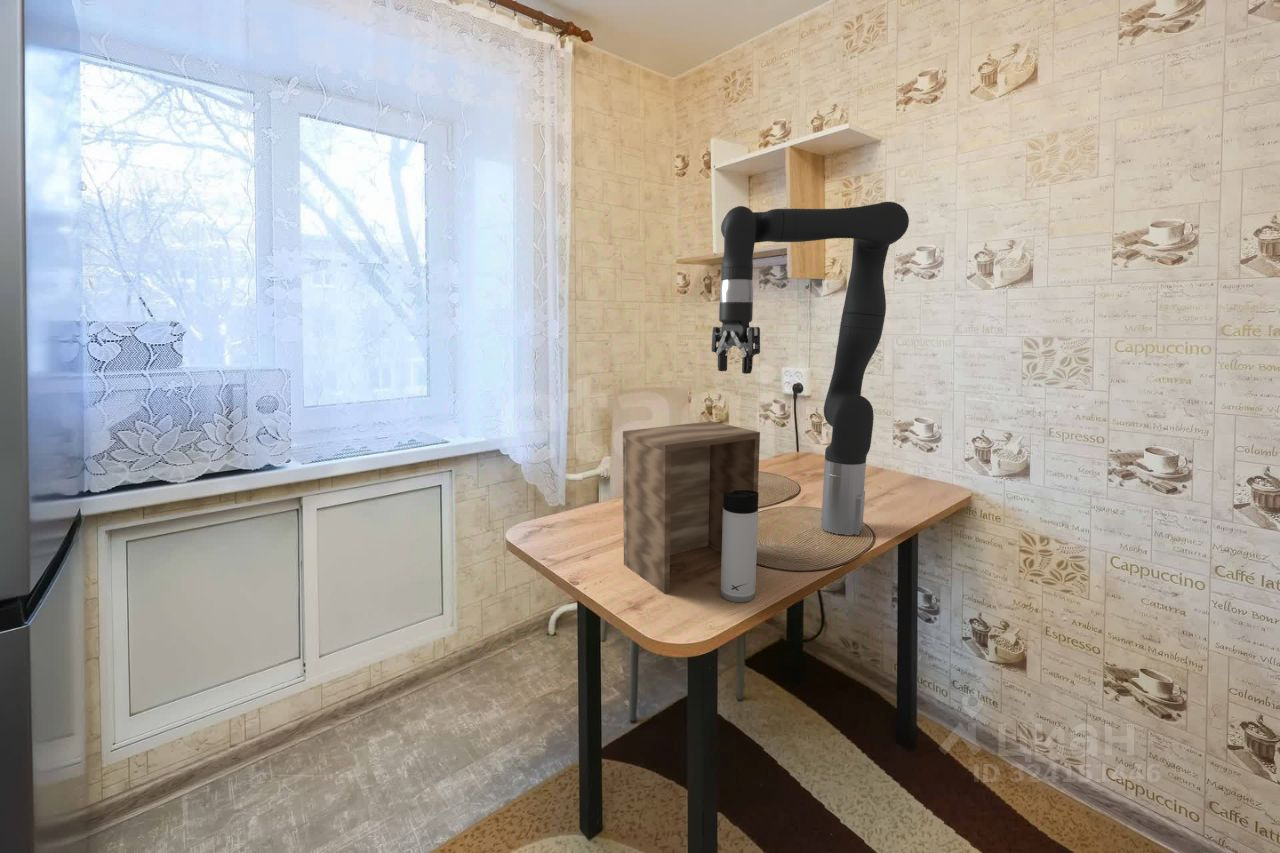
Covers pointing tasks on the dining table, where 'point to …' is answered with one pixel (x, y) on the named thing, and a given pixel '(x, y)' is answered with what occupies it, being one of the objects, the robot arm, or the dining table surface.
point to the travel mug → (739, 545)
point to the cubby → (681, 490)
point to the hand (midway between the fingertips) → (734, 372)
